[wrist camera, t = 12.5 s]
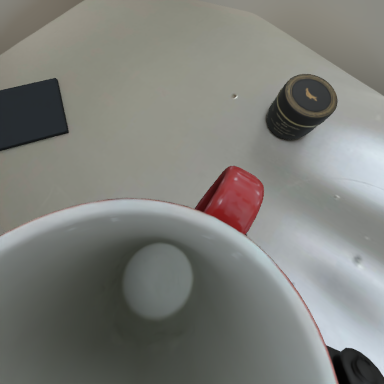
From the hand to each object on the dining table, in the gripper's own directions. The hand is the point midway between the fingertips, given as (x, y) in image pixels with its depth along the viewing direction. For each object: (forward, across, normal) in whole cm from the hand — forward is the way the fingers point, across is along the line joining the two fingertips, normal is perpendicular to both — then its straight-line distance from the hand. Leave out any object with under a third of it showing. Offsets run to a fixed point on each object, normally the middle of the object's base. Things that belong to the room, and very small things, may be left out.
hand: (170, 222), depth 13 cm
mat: (+27, -34, +3) cm, 44 cm away
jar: (+30, +21, +6) cm, 37 cm away
